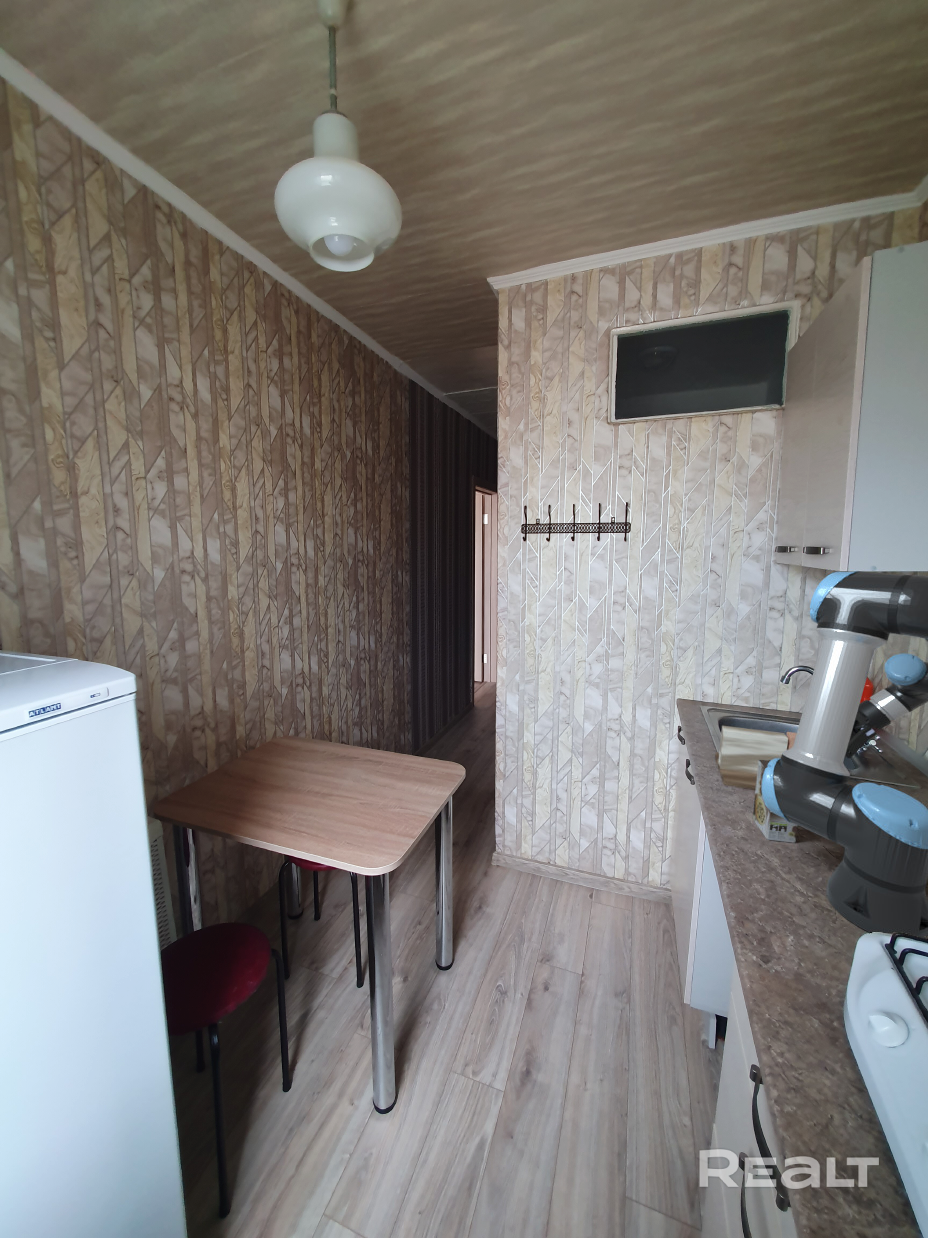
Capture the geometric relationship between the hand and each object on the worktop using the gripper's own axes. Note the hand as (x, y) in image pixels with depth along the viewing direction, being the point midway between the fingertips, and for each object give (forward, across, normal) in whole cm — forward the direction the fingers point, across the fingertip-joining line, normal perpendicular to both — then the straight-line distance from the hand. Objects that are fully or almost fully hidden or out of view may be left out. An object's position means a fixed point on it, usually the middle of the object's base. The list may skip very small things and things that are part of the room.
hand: (806, 753), depth 134 cm
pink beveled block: (+5, -1, -4) cm, 7 cm away
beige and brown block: (+12, -1, 0) cm, 12 cm away
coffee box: (+16, -29, +3) cm, 33 cm away
